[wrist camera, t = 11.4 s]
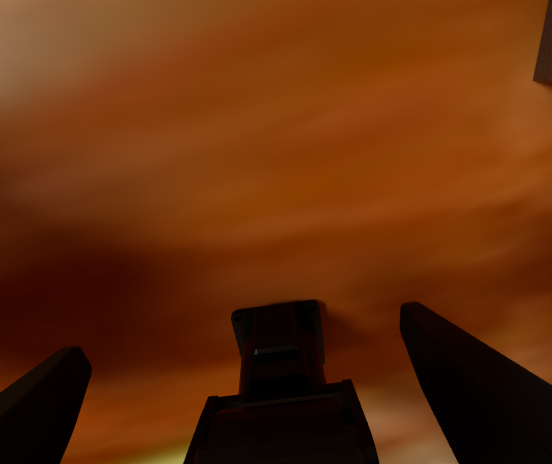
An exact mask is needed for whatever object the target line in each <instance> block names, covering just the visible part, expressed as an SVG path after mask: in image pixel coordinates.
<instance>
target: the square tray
mask: <svg viewBox="0 0 552 464" xmlns="http://www.w3.org/2000/svg"><path fill="white" fill-rule="evenodd" d="M533 80H537V81H552V0H549V3H548V8H547V13H546V18H545V23H544V28H543V33H542V38H541V43H540V48H539V53H538V58H537V63H536V68H535V73H534V78H533Z"/></svg>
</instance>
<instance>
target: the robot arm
mask: <svg viewBox="0 0 552 464" xmlns="http://www.w3.org/2000/svg"><path fill="white" fill-rule="evenodd" d="M312 306H313V307H314V308H310V307H312ZM237 316H239V317H240V318H237ZM231 321H232V325H233V329H234V332H235V336H236V340H237V344H238V347H239V351H240V355H241V370H240V383H239V395H231V396H223V397H218V396H209V397H208V399H207V401H206V404H205V407H204V409H203V411H202V413H201V416H200V419H199V422H198V424H197V427H196V430H195V433H194V435H193V438H192V441H191V443H190V446H189V449H188V452H187V454H186V457H185V460H184V463H183V464H379V459H378V455H377V451H376V447H375V444H374V441H373V437H372V434H371V431H370V428H369V426H368V423H367V420H366V418H365V415H364V412H363V410H362V407H361V404H360V402H359V399H358V396H357V394H356V391H355V388H354V386H353V383H352V380H351V379H348V380H342V382H337V383H329V384H326V379H325V374H324V369H323V365H324V363H325V358H324V348H323V338H322V328H321V318H320V308H319V304H318V302H317V301H314V300H310V301H302V302H294V303H287V304H279V305H272V306H264V307H257V308H249V309H241V310H236V311H234V312H233V313H232V315H231ZM400 331H401V335H402V338H403V340H404V343H405V346H406V349H407V351H408V354H409V357H410V359H411V362H412V365H413V368H414V370H415V373H416V376H417V378H418V381H419V383H420V386H421V388H422V391H423V393H424V395H425V397H426V399H427V401H428V403H429V405H430V407H431V409H432V411H433V413H434V415H435V417H436V419H437V421H438V423H439V425H440V427H441V429H442V431H443V433H444V435H445V437H446V439H447V441H448V443H449V445H450V447H451V449H452V451H453V453H454V455H455V457H456V459H457V461H458V463H459V464H552V385H551V384H549V383H547V382H546V381H544V380H543V379H541V378H539V377H538V376H536V375H535V374H533V373H531V372H530V371H528V370H527V369H525V368H523V367H522V366H520V365H519V364H517V363H515V362H514V361H512V360H511V359H509V358H507V357H506V356H504V355H503V354H501V353H499V352H498V351H496V350H495V349H493V348H491V347H490V346H488V345H487V344H485V343H483V342H482V341H480V340H478V339H477V338H475V337H474V336H472V335H470V334H469V333H467V332H466V331H464V330H462V329H461V328H459V327H458V326H456V325H454V324H453V323H451V322H450V321H448V320H446V319H445V318H443V317H442V316H440V315H438V314H437V313H435V312H434V311H432V310H430V309H429V308H427V307H426V306H424V305H422V304H421V303H419V302H407V303H403V304H402V305H401V310H400ZM91 372H92V368H91V364H90V363H89V361H88V359H87V357H86V356H85V354H84V352H83V350H82V349H81V348H80V347H79V346H70V347H64V348H61V349H60V350H58V351H57V352H56V353H54V354H53V355H51V356H50V357H49V358H47V359H46V360H45V361H43V362H42V363H40V364H39V365H38V366H36V367H35V368H33V369H32V370H31V371H29V372H28V373H27V374H25V375H24V376H22V377H21V378H20V379H18V380H17V381H16V382H14V383H13V384H11V385H10V386H9V387H7V388H6V389H4V390H3V391H2V392H0V464H60V462H61V460H62V458H63V455H64V453H65V450H66V448H67V446H68V443H69V441H70V438H71V436H72V433H73V430H74V427H75V425H76V422H77V419H78V415H79V412H80V409H81V406H82V403H83V399H84V396H85V393H86V390H87V386H88V383H89V380H90V377H91Z"/></svg>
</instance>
